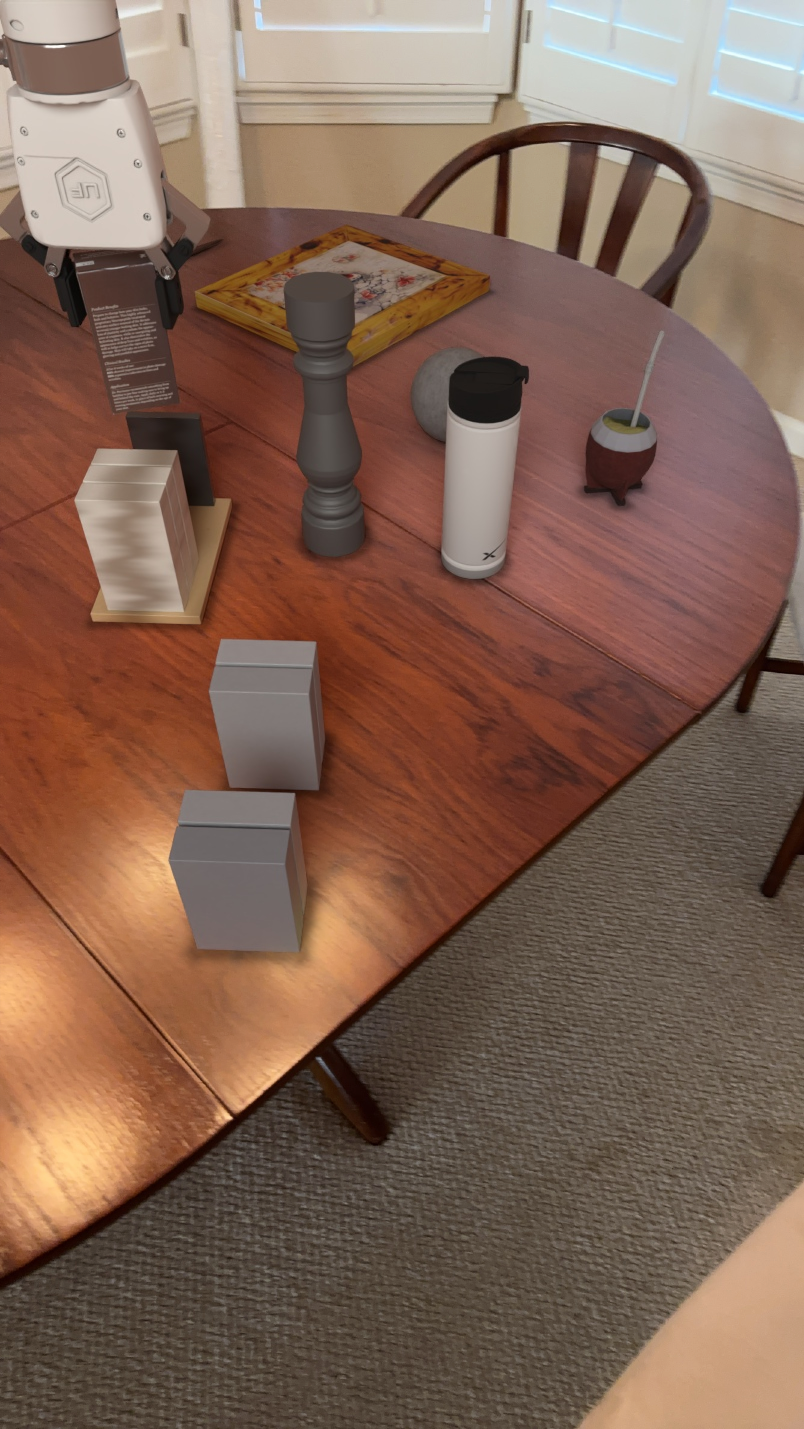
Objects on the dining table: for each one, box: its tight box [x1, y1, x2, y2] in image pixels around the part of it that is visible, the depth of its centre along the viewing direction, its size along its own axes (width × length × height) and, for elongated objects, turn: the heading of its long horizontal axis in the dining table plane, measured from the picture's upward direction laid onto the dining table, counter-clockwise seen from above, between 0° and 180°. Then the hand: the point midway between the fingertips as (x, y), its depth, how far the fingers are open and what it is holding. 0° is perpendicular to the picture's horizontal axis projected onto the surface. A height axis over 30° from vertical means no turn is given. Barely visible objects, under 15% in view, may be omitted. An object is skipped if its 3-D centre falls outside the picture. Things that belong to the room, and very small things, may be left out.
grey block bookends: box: [167, 638, 326, 954], centre depth 66 cm, size 7×19×11 cm, turn 178°
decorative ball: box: [410, 346, 485, 443], centre depth 103 cm, size 10×10×10 cm
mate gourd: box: [583, 330, 666, 507], centre depth 95 cm, size 8×8×15 cm
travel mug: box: [440, 355, 530, 580], centre depth 85 cm, size 6×7×20 cm
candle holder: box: [284, 272, 366, 558], centre depth 85 cm, size 6×6×25 cm
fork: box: [155, 238, 224, 272], centre depth 138 cm, size 3×16×2 cm, turn 136°
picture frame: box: [194, 224, 491, 367], centre depth 129 cm, size 27×2×30 cm
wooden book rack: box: [73, 410, 233, 625], centre depth 87 cm, size 10×18×13 cm, turn 178°
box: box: [72, 250, 181, 415], centre depth 78 cm, size 6×4×12 cm
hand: (125, 319), depth 77 cm, fingers closed on box, 6 cm apart
